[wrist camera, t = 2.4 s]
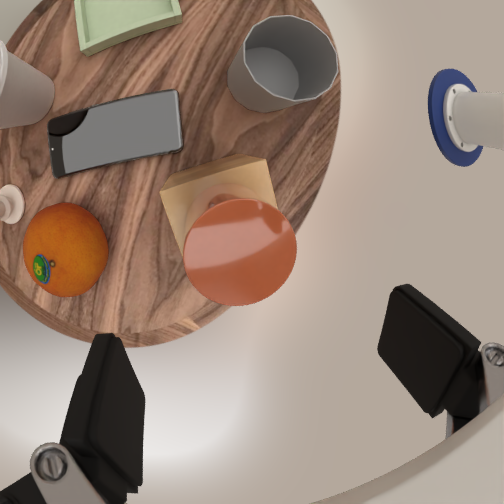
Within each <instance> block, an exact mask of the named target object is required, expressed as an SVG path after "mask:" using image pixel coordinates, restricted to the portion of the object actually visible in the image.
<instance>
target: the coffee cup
mask: <svg viewBox="0 0 504 504" xmlns="http://www.w3.org/2000/svg"><path fill="white" fill-rule="evenodd" d="M54 95H55V88H54V84H53V82H52V80H51V79H50V78H49V77H48V76H46V75H45V74H43V73H42V72H40V71H39V70H37V69H35V68H34V67H32V66H31V65H29V64H27V63H26V62H24V61H23V60H21V59H19V58H18V57H16V56H15V55H13V54H12V53H10V52H8V51H7V49H6V47H5V45H4V43H3V42H2V41H1V40H0V129H5V128H11V127H17V126H24V125H31V124H35V123H37V122H39V121H40V120H41V119H42V118H43V117H44V116H45V115H46V114H47V113H48V111H49V110H50V108H51V106H52V103H53V100H54Z"/></svg>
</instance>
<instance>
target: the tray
mask: <svg viewBox="0 0 504 504" xmlns="http://www.w3.org/2000/svg"><path fill="white" fill-rule="evenodd" d="M74 5H75V15H76V24H77V31H78V39H79V45H80V51H81V52H82V53H83V54H85V55H86V56H87V57H89V56H91V55H93V54H95V53H97V52H100V51H102V50H104V49H106V48H109V47H111V46H114V45H116V44H119V43H121V42H124V41H126V40H129V39H132V38H134V37H137V36H140V35H143V34H146V33H149V32H152V31H155V30H158V29H162V28H165V27H169V26H172V25H176V24H180V23H182V13H181V9H180V6H179V2H178V0H74Z"/></svg>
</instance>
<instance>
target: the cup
mask: <svg viewBox="0 0 504 504" xmlns="http://www.w3.org/2000/svg"><path fill="white" fill-rule="evenodd" d="M337 73H338V60H337V52H336V50H335V48H334V46H333V45H332V43H331V41H330V39H329V37H328V35H326V34H325V33H324V32H323V31H322V30H320V29H319V28H318V27H317V26H316V25H314V24H313V23H312V22H310V21H307V20H304V19H301V18H298V17H295V16H292V15H283V16H270V17H268V18H266V19H264V20H263V21H261V22H259V23H257V24H255V25H254V26H253V27H252V28H251V30H250V32H249V33H248V35H247V37H246V39H245V40H244V42H243V44H242V45H241V47H240V49H239V51H238V52H237V54H236V56H235V58H234V60H233V61H232V63H231V65H230V67H229V69H228V71H227V83H228V88H229V90H230V91H231V93H232V95H233V97H234V99H235V100H236V101H237V102H239V103H240V104H242V105H243V106H244V107H246V108H247V109H248V110H253V111H257V112H262V113H267V112H272V111H277V110H281V109H284V108H287V107H290V106H293V105H297V104H300V103H303V102H306V101H310V100H313V99H316V98H317V97H319V96H320V95H321V94H323V93H324V92H326V91H327V90H328V89H330V88H331V86H332V84H333V82H334V80H335V78H336V75H337Z"/></svg>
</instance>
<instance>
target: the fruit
mask: <svg viewBox="0 0 504 504" xmlns="http://www.w3.org/2000/svg"><path fill="white" fill-rule="evenodd" d="M23 254H24V262H25V265H26V268H27V270H28V272H29V274H30V276H31V277H32V279H33V280H34V281H35V282H36V283H37V284H38V285H39V286H41V287H42V288H43V289H44V290H45V291H47V292H49V293H51V294H53V295H56V296H59V297H73V296H77V295H80V294H83V293H85V292H87V291H88V290H89V289H90V288H91V287H92V286H93V285H94V284H95V283H96V281H97V280H98V278H99V277H100V275H101V274H102V272H103V270H104V269H105V266H106V264H107V261H108V254H109V250H108V244H107V239H106V236H105V234H104V232H103V230H102V227H101V225H100V223H99V222H98V220H97V219H96V218H95V217H94V216H93V215H92V214H91V213H90V212H88V211H87V210H85V209H84V208H82V207H81V206H78V205H76V204H73V203H58V204H55V205H52V206H49V207H46V208H45V209H43V210H41V211H40V212H38V213H37V214H36V215H35V216H34V218H33V219H32V220H31V222H30V224H29V226H28V228H27V231H26V234H25V237H24V241H23Z"/></svg>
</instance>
